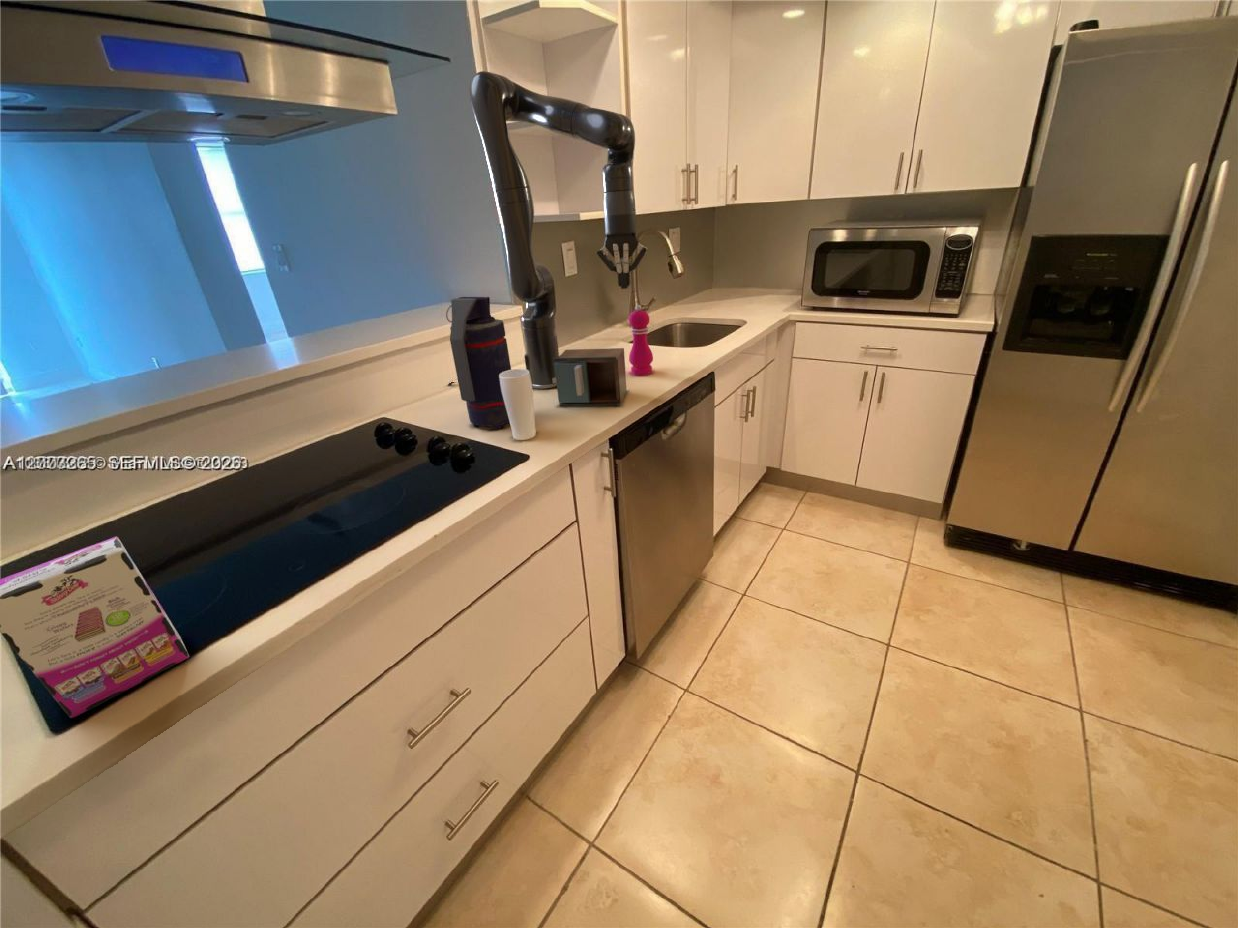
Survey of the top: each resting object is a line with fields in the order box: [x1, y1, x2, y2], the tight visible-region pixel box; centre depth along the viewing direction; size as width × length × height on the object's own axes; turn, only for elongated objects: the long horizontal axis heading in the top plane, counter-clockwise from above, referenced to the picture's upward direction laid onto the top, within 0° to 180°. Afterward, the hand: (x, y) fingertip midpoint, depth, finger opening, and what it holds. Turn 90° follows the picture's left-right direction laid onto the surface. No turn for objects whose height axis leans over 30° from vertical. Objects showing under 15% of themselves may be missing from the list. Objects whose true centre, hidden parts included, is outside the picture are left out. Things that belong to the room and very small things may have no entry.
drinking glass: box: [499, 368, 537, 441], centre depth 116 cm, size 7×7×15 cm
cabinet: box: [554, 347, 628, 408], centre depth 137 cm, size 16×12×13 cm
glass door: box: [554, 363, 589, 404], centre depth 132 cm, size 8×4×10 cm, turn 80°
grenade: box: [445, 296, 512, 430], centre depth 122 cm, size 14×12×30 cm
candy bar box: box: [0, 535, 190, 719], centre depth 58 cm, size 11×5×16 cm, turn 138°
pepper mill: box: [628, 304, 654, 377], centre depth 154 cm, size 7×7×20 cm
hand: (624, 288), depth 132 cm, fingers closed
